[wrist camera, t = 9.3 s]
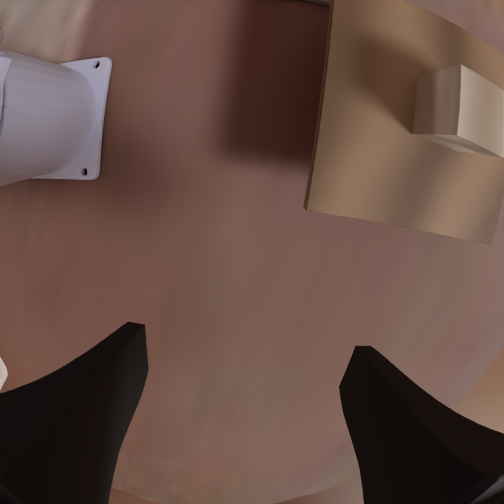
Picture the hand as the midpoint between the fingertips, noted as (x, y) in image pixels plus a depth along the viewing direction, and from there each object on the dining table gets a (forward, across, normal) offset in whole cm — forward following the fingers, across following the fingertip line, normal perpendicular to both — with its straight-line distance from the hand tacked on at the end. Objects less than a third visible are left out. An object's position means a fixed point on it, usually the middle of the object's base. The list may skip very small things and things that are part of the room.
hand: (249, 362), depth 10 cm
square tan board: (+6, -8, -10) cm, 14 cm away
